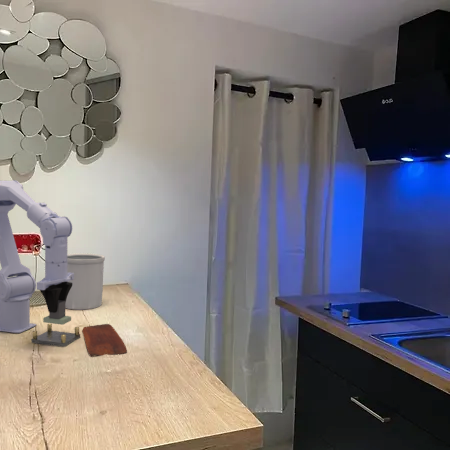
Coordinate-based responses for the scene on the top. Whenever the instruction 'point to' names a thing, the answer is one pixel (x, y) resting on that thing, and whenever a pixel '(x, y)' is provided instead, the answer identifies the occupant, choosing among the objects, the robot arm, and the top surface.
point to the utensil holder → (85, 280)
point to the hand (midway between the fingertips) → (56, 310)
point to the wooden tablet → (103, 340)
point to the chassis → (55, 337)
